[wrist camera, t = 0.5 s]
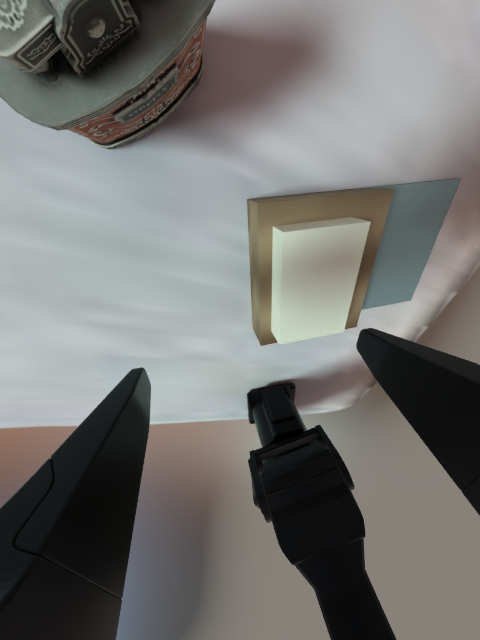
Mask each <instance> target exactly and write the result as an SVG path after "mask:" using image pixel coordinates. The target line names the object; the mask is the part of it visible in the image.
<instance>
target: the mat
mask: <svg viewBox="0 0 480 640" xmlns="http://www.w3.org/2000/svg"><path fill="white" fill-rule="evenodd" d="M460 180H461V179H449V180H439V181H429V182H419V183H409V184H398V185H388V186H378V187H368V188H378V189H394V193H393V196H392V200H391V203H390V207H389V211H388V214H387V218H386V221H385V225H384V229H383V232H382V236H381V239H380V243H379V247H378V250H377V254H376V257H375V261H374V265H373V268H372V272H371V275H370V279H369V283H368V286H367V290H366V293H365V297H364V301H363V304H362V308H361V310H362V309H367V308H373V307H378V306H383V305H389V304H394V303H400V302H405V301H411V299H412V296H413V294H414V292H415V289H416V287H417V284H418V282H419V279H420V277H421V275H422V272H423V270H424V267H425V265H426V262H427V260H428V258H429V255H430V253H431V250H432V248H433V246H434V243H435V241H436V238H437V236H438V233H439V231H440V229H441V226H442V224H443V221H444V219H445V216H446V214H447V212H448V209H449V207H450V204H451V202H452V199H453V197H454V195H455V192H456V190H457V187H458V185H459V183H460Z"/></svg>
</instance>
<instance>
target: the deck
mask: <svg viewBox="0 0 480 640" xmlns="http://www.w3.org/2000/svg"><path fill="white" fill-rule="evenodd" d="M393 193H394V189H378V188H358V189H348V190H338V191H328V192H317V193H307V194H297V195H287V196H277V197H267V198H257V199H247V205H248V229H249V252H250V275H251V298H252V322H253V329H254V332H255V334H256V336H257V338H258V340H259V342H260V345H261V346H262V345H267V344H272V343H277V340H276V338H275V337H274V335H273V333H272V331H271V314H272V245H273V226H280V225H288V224H297V223H305V222H314V221H322V220H331V219H339V218H347V217H354V218H358V219H362V220H366V221H370V227H369V231H368V235H367V239H366V243H365V247H364V251H363V255H362V260H361V264H360V268H359V272H358V276H357V280H356V284H355V288H354V292H353V297H352V301H351V305H350V309H349V313H348V317H347V321H346V325H345V329H348V328H354V327H356V326H357V322H358V319H359V315H360V312H361V308H362V304H363V301H364V297H365V293H366V290H367V286H368V283H369V279H370V275H371V272H372V268H373V265H374V261H375V257H376V254H377V250H378V247H379V243H380V239H381V236H382V232H383V229H384V225H385V221H386V218H387V214H388V211H389V207H390V203H391V200H392V196H393Z"/></svg>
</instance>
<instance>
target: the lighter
mask: <svg viewBox="0 0 480 640" xmlns="http://www.w3.org/2000/svg"><path fill="white" fill-rule="evenodd" d="M214 3H215V0H0V97H1V98H2V99H3V100H4V101H5V102H6V103H7V104H8V105H9V106H11V107H12V108H13V109H14V110H15V111H16V112H17V113H19V114H21V115H22V116H24V117H25V118H27V119H29V120H30V121H32V122H34V123H37V124H39V125H42V126H45V127H48V128H52V129H55V130H66V129H67V130H70V131H72V132H75V133H77V134H79V135H82V136H84V137H86V138H87V139H88V140H89V141H91V142H92V143H94V144H95V145H97V146H100V147H103V148H106V149H115V148H118V147H120V146H122V145H125V144H127V143H129V142H132V141H134V140H136V139H138V138H140V137H142V136H143V135H145V134H146V133H148V132H149V131H151V130H153V129H154V128H156V127H157V126H159V125H160V124H161V123H163V122H164V121H165V120H166V119H167V118H168V117H169V116H170V115H171V114H172V113H173V112H174V111H175V110H176V109H177V108H179V107H180V106H181V104H182V103H183V102H184V101H185V99H186V98H187V97H188V96H189V94H190V93H191V92H192V91H193V89H194V88H195V87H196V86H197V84H198V83H199V81H200V79H201V77H202V71H203V64H204V53H203V41H204V34H205V27H206V21H207V16H208V15H209V13H210V11H211V9H212V7H213V5H214Z"/></svg>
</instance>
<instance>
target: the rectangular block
mask: <svg viewBox="0 0 480 640" xmlns="http://www.w3.org/2000/svg"><path fill="white" fill-rule="evenodd" d="M369 227H370V221H366V220H362V219H358V218H354V217H347V218H339V219H331V220H322V221H314V222H305V223H297V224H288V225H280V226H273V245H272V314H271V331H272V333H273V335H274V337H275V338H276V340H277V342H278V344H279V345H280V344H285V343H290V342H295V341H300V340H305V339H310V338H315V337H320V336H325V335H330V334H336V333H341V332H344V329H345V325H346V321H347V317H348V313H349V309H350V305H351V301H352V297H353V292H354V288H355V284H356V280H357V276H358V272H359V268H360V264H361V260H362V255H363V251H364V247H365V243H366V239H367V235H368V231H369Z"/></svg>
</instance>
